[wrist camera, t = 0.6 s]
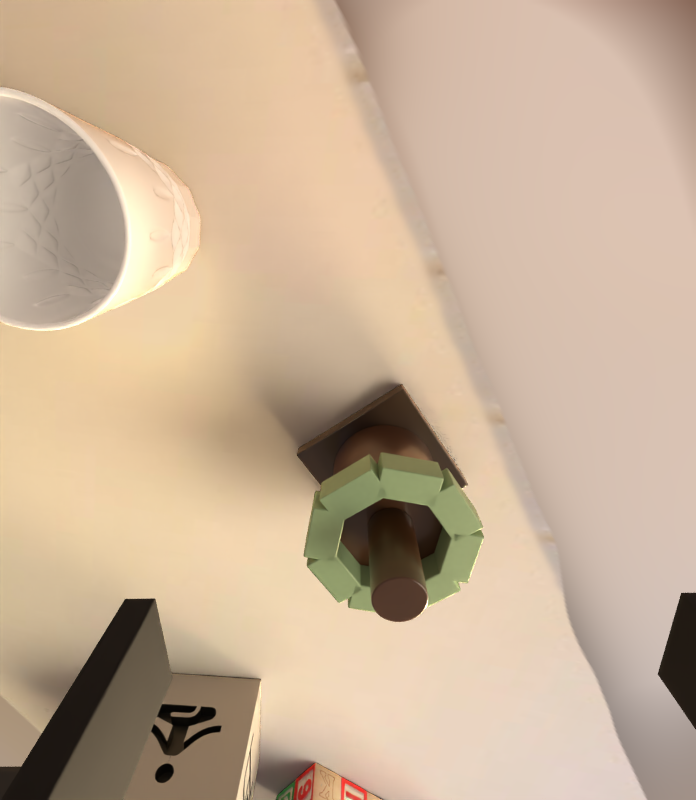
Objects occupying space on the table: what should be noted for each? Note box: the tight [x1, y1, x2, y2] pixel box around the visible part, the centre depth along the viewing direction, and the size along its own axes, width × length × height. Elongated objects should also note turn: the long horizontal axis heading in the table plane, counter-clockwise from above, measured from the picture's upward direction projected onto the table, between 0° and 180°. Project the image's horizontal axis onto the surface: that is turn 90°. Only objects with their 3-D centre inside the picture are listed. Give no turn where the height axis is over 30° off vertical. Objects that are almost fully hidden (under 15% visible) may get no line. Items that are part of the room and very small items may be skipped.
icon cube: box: [123, 673, 261, 800], centre depth 34 cm, size 10×10×10 cm
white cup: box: [0, 87, 200, 331], centre depth 21 cm, size 8×8×10 cm
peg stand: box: [297, 384, 468, 622], centre depth 25 cm, size 8×8×12 cm
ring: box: [304, 452, 484, 612], centre depth 23 cm, size 8×8×2 cm
